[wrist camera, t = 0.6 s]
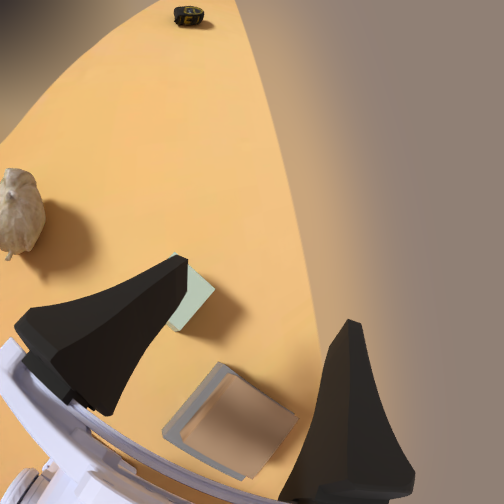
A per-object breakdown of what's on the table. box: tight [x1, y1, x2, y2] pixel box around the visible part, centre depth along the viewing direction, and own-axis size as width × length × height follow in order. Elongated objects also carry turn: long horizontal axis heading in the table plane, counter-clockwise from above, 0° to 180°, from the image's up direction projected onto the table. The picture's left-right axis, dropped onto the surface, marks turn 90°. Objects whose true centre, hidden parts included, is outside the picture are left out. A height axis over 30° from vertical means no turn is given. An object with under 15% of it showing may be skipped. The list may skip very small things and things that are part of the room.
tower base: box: [162, 362, 294, 481], centre depth 25 cm, size 10×10×3 cm
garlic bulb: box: [0, 168, 46, 261], centre depth 20 cm, size 9×8×10 cm
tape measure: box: [174, 6, 204, 25], centre depth 43 cm, size 7×7×4 cm
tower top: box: [179, 373, 299, 479], centre depth 22 cm, size 8×8×3 cm
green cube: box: [166, 252, 215, 332], centre depth 26 cm, size 5×5×5 cm
